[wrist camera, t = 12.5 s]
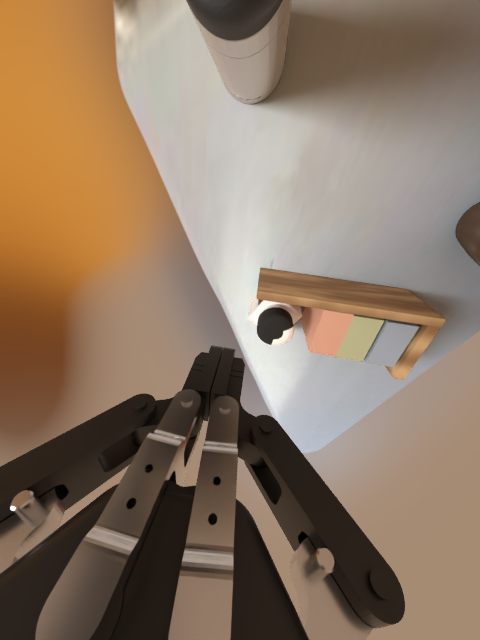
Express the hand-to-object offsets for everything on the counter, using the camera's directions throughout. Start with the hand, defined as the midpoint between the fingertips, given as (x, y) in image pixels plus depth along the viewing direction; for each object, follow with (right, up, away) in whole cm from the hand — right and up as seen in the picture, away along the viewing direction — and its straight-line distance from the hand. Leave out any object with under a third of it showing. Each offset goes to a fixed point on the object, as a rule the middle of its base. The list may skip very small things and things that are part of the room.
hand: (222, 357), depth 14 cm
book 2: (+23, +5, +35) cm, 42 cm away
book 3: (+29, +4, +35) cm, 45 cm away
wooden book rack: (+19, +5, +35) cm, 41 cm away
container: (+9, +7, +36) cm, 38 cm away
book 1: (+18, +6, +35) cm, 40 cm away
